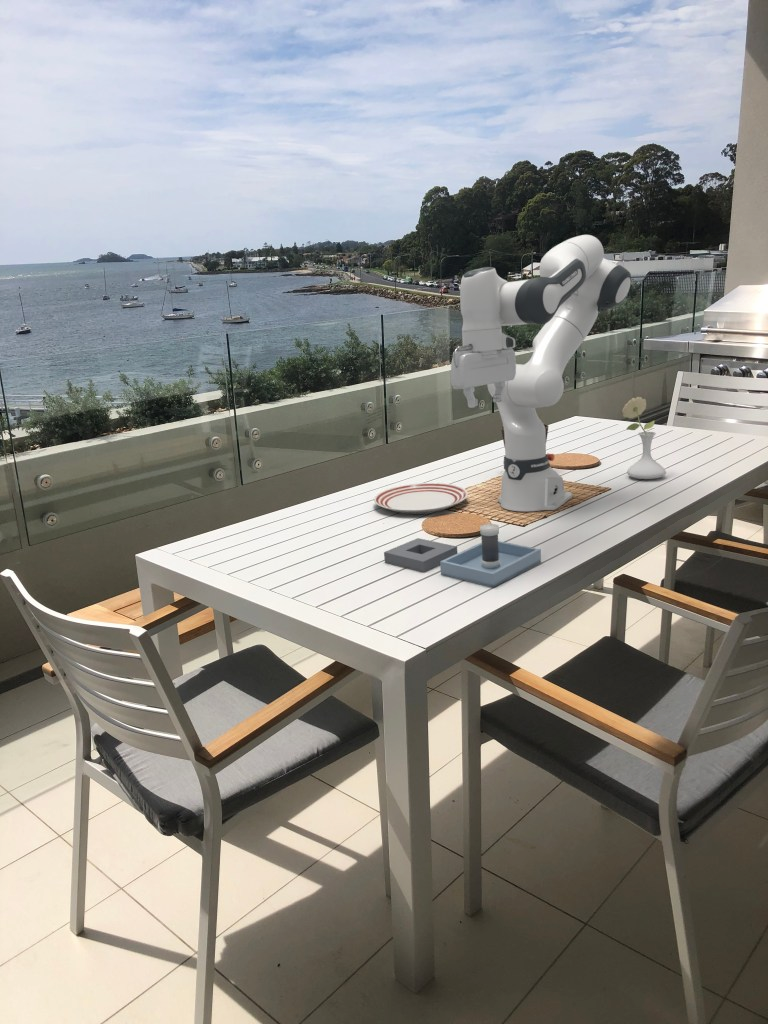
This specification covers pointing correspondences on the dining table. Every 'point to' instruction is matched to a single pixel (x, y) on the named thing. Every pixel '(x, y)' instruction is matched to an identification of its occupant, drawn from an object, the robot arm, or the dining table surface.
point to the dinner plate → (421, 497)
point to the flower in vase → (646, 464)
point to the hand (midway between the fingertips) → (485, 404)
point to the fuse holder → (419, 554)
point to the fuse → (490, 546)
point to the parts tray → (471, 569)
